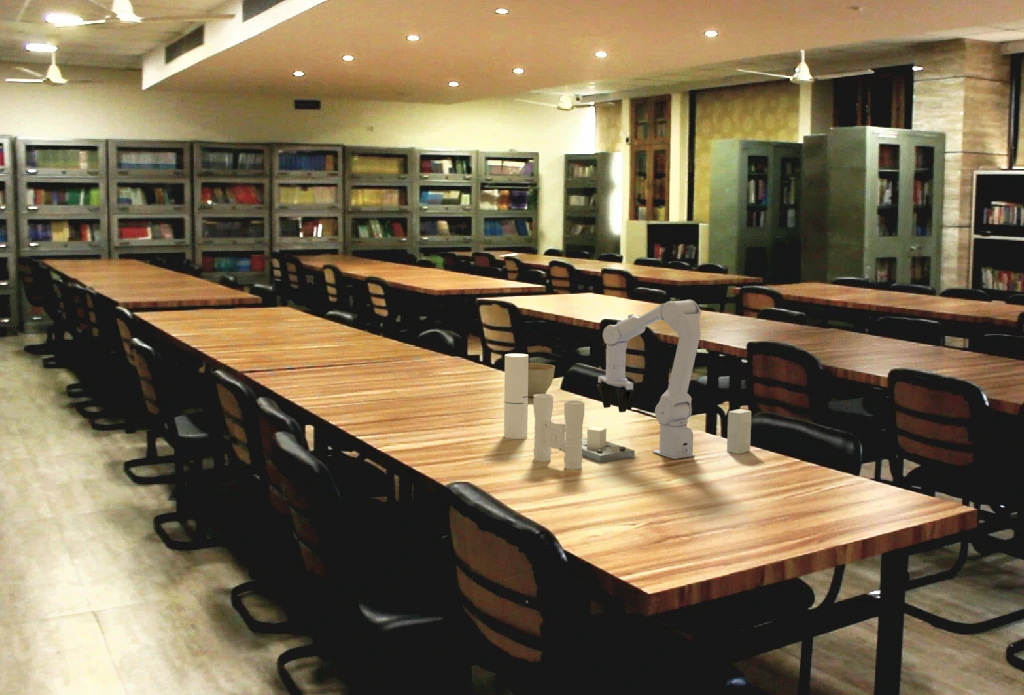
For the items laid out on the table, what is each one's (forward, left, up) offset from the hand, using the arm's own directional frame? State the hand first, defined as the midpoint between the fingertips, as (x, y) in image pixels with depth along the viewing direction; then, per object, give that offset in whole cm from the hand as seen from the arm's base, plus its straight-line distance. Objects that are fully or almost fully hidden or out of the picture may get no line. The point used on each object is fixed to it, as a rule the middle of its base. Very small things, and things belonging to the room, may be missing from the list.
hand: (614, 409), depth 320 cm
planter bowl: (+74, -19, -10) cm, 77 cm away
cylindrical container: (+19, +23, -10) cm, 31 cm away
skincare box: (-29, -23, -10) cm, 38 cm away
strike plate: (-10, +14, -9) cm, 20 cm away
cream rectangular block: (-10, +14, -10) cm, 19 cm away
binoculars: (-15, +31, -10) cm, 35 cm away
